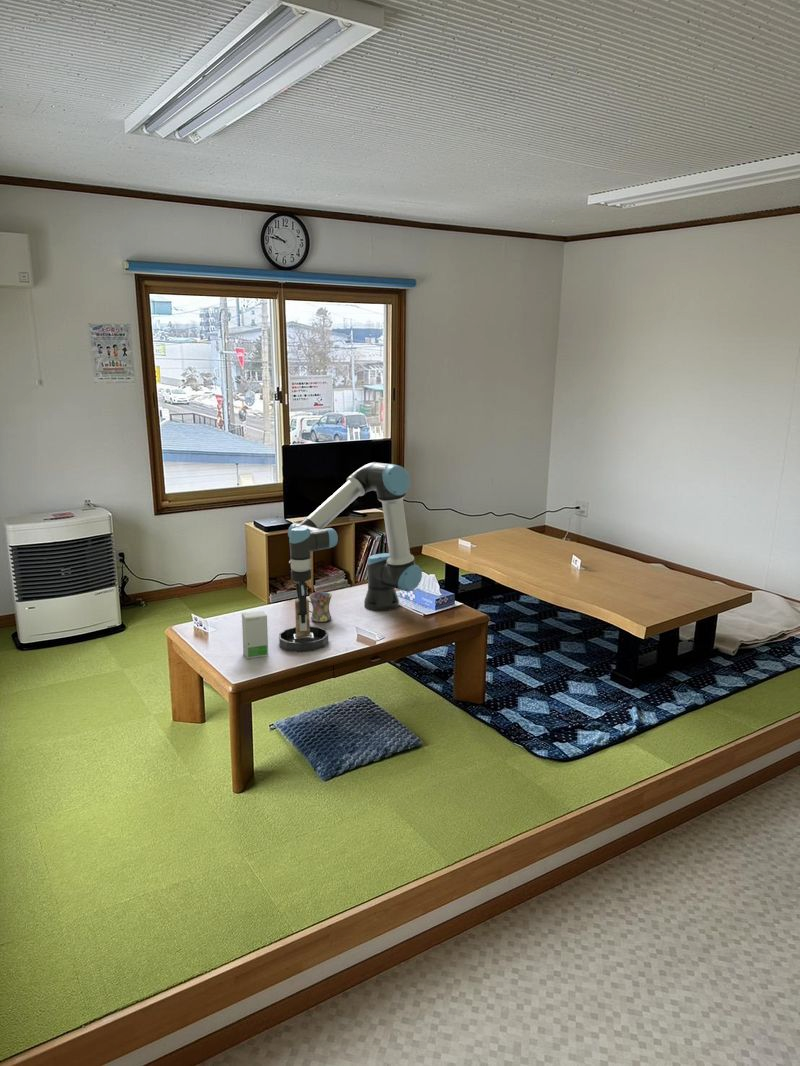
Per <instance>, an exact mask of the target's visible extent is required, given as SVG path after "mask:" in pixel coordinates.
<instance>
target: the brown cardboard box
mask: <svg viewBox="0 0 800 1066" xmlns="http://www.w3.org/2000/svg"><path fill="white" fill-rule="evenodd" d="M309 601H310V598H307V597H306V604H307V631H300V624H299V615H298V613H300V610H299V599H298V598H294V609H295V627H296V636H297V637H306V636H310V626H311V625H310V623H311V622H310V612H309V611H310V602H309Z"/></svg>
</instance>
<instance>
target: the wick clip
mask: <svg viewBox="0 0 800 1066" xmlns="http://www.w3.org/2000/svg"><path fill="white" fill-rule="evenodd" d="M293 641H294V642H296V643H304V642H313V641H314V636H313V633H310V636H306V637H297V636H296V634H294V640H293Z"/></svg>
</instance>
